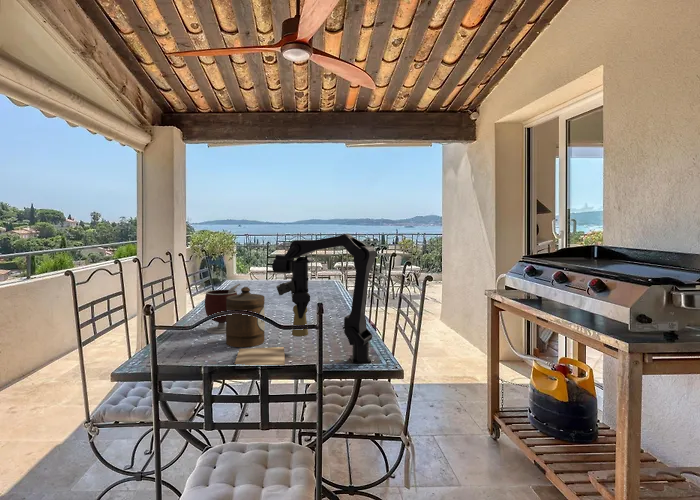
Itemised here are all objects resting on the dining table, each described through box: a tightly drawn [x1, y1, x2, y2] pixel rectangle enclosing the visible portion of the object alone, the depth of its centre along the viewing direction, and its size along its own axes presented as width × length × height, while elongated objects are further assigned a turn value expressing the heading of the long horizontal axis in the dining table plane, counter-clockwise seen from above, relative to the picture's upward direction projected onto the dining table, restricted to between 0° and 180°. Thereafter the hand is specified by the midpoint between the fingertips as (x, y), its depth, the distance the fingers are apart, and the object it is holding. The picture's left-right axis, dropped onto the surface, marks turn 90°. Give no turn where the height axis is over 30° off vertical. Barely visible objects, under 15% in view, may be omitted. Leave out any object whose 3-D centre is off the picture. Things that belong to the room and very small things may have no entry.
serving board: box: [234, 346, 286, 366], centre depth 144 cm, size 18×16×2 cm
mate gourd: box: [204, 283, 241, 335], centre depth 183 cm, size 16×14×20 cm
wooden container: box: [225, 286, 266, 348], centre depth 165 cm, size 15×15×22 cm
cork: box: [291, 304, 309, 337], centre depth 153 cm, size 6×6×11 cm
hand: (300, 316), depth 153 cm, fingers closed on cork, 5 cm apart
